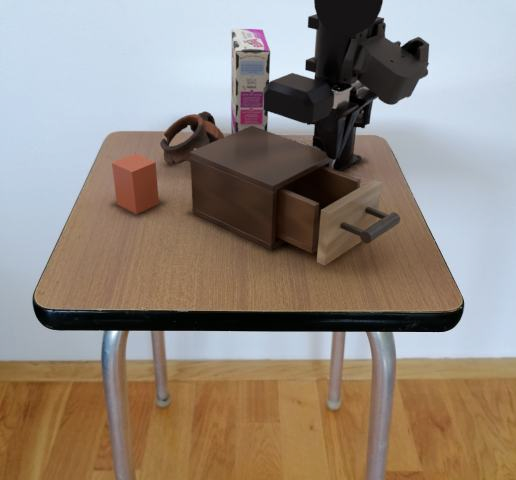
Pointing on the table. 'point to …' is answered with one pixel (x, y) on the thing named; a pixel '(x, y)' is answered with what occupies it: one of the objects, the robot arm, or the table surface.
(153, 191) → the block
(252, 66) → the candy bar box
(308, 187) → the drawer
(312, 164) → the cabinet
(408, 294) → the table surface
